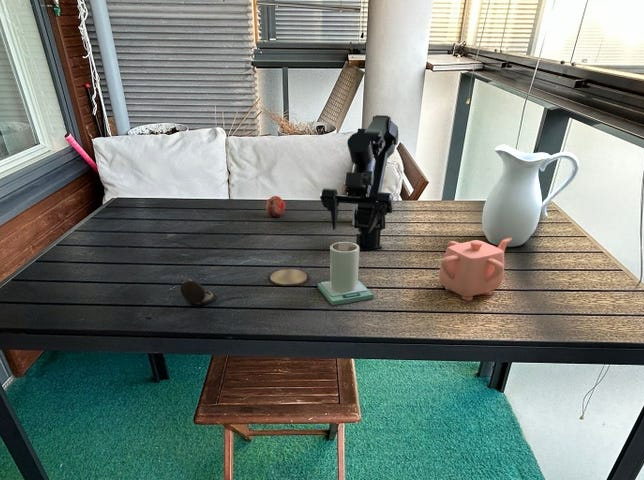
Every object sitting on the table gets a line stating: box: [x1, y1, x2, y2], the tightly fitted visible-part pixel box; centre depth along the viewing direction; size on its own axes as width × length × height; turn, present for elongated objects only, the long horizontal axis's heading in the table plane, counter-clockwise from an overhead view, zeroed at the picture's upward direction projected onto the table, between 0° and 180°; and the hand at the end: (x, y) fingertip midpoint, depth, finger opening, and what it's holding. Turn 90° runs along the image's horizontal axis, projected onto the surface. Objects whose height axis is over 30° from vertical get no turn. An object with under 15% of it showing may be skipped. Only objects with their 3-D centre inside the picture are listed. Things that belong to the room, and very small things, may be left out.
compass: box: [180, 278, 215, 306], centre depth 120 cm, size 8×8×7 cm
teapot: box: [438, 238, 512, 301], centre depth 122 cm, size 17×16×13 cm
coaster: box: [270, 268, 308, 287], centre depth 133 cm, size 10×10×1 cm
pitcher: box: [481, 144, 580, 248], centre depth 147 cm, size 24×17×28 cm
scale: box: [317, 279, 374, 306], centre depth 125 cm, size 11×11×2 cm
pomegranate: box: [265, 195, 286, 218], centre depth 178 cm, size 7×7×10 cm
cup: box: [329, 241, 360, 292], centre depth 122 cm, size 7×7×11 cm
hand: (351, 230), depth 125 cm, fingers open, 9 cm apart
